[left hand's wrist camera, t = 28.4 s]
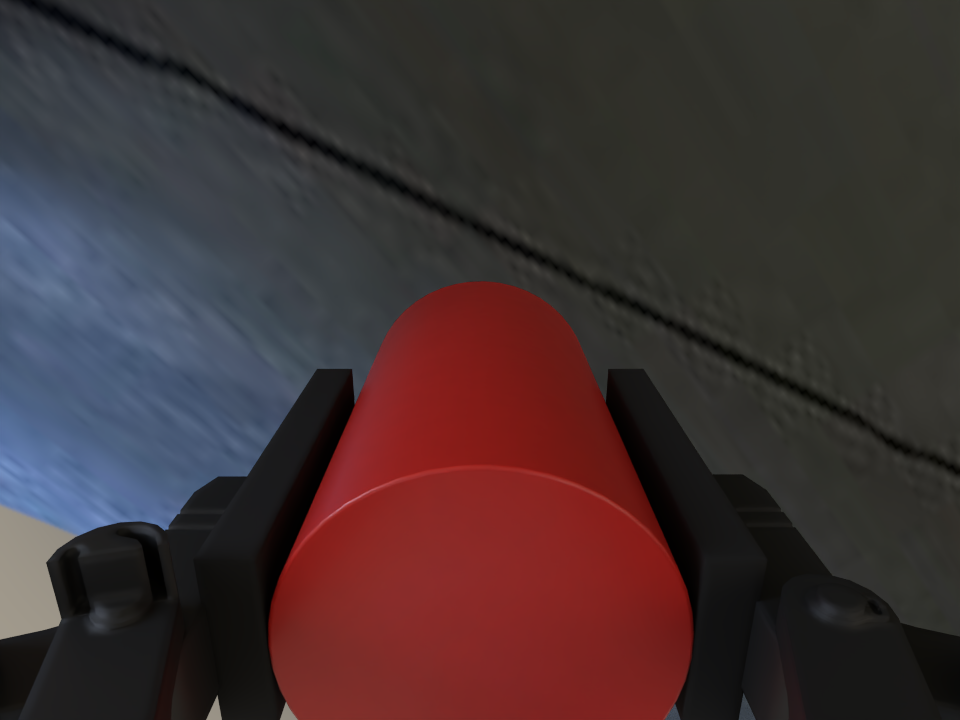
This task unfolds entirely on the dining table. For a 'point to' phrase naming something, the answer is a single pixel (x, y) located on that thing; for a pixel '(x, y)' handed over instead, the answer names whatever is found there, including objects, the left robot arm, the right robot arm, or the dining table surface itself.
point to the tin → (480, 537)
